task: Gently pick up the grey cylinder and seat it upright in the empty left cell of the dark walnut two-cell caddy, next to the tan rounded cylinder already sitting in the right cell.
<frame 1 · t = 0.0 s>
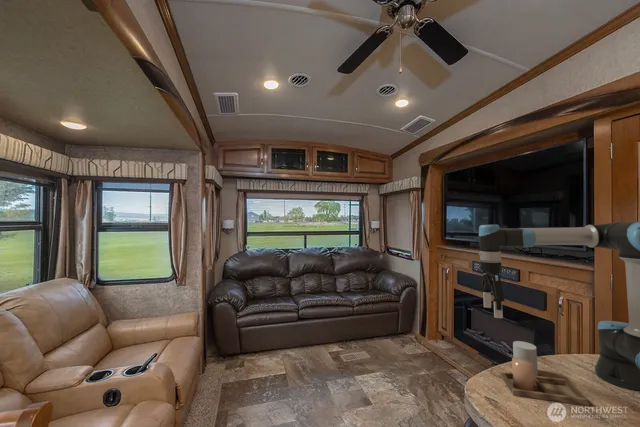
hand: (492, 312, 112), 28 cm above the table, fingers open, 13 cm apart
tan rounded cylinder: (524, 387, 105), point 1 cm above the table, touching caddy
grey cylinder: (525, 373, 116), on the table
caddy: (540, 391, 103), on the table
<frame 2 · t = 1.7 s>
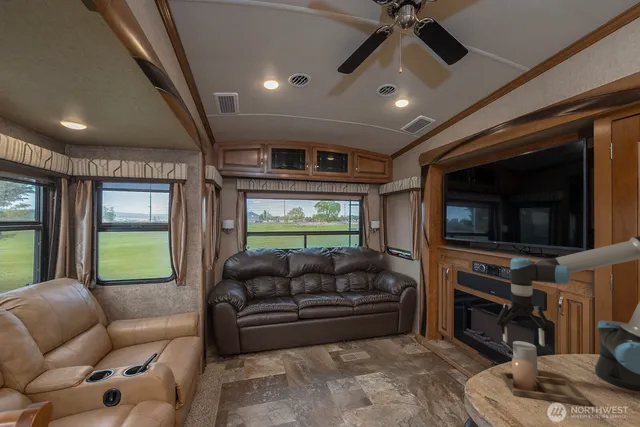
hand: (523, 343, 116), 13 cm above the table, fingers open, 13 cm apart
nothing on the table moved.
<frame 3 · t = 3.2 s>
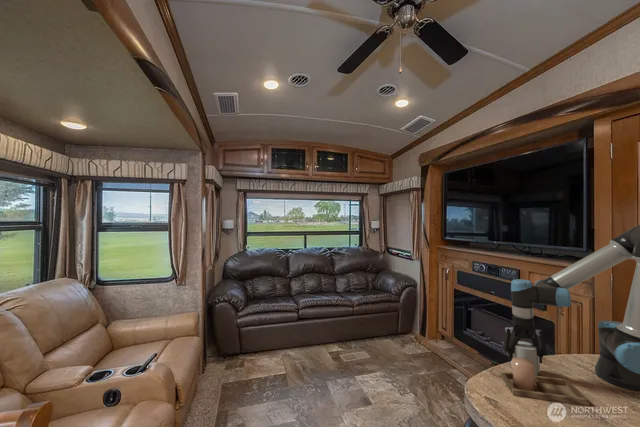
hand: (525, 369, 116), 2 cm above the table, fingers closed on grey cylinder, 8 cm apart
grey cylinder: (525, 373, 116), on the table, touching gripper
everything else where it was.
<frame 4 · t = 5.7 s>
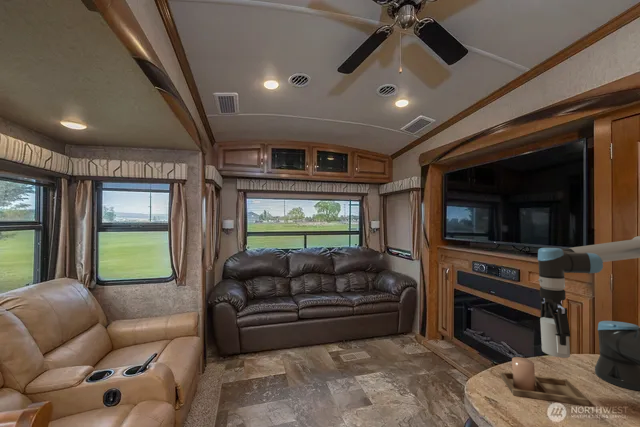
hand: (555, 347, 103), 17 cm above the table, fingers closed on grey cylinder, 8 cm apart
grey cylinder: (555, 353, 103), point 15 cm above the table, touching gripper
everything else where it was.
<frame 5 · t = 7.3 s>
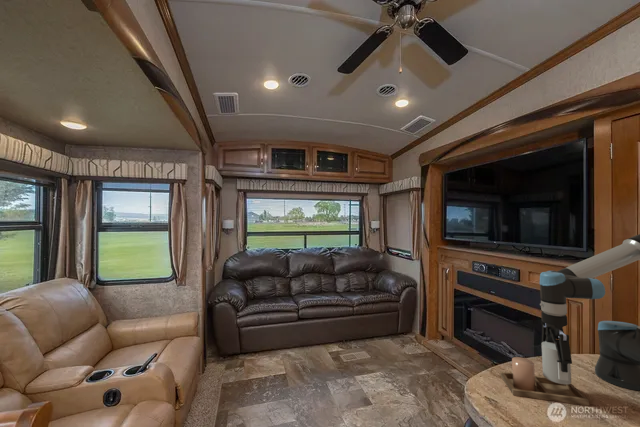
hand: (556, 373, 102), 8 cm above the table, fingers closed on grey cylinder, 8 cm apart
grey cylinder: (556, 378, 102), point 6 cm above the table, touching gripper
everything else where it was.
when the fingers open (5 cm above the table, at t = 8.4 s): grey cylinder drops 2 cm, resting on caddy.
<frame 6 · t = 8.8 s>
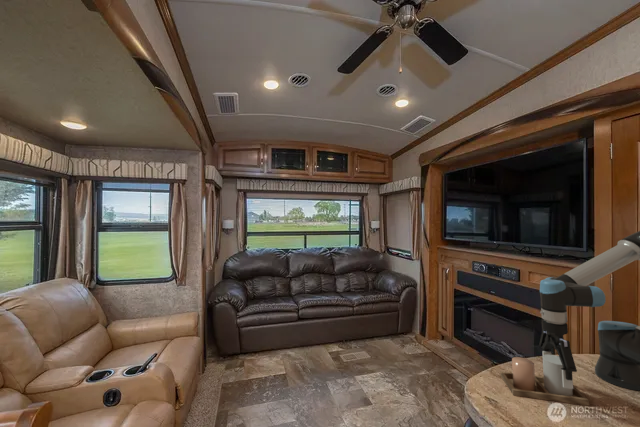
hand: (557, 377, 102), 6 cm above the table, fingers open, 13 cm apart
grey cylinder: (558, 392, 102), resting on caddy
everything else where it was.
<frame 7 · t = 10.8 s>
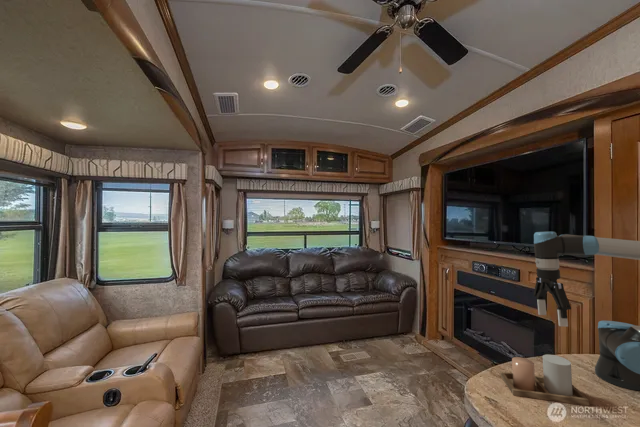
hand: (552, 320, 111), 25 cm above the table, fingers open, 13 cm apart
nothing on the table moved.
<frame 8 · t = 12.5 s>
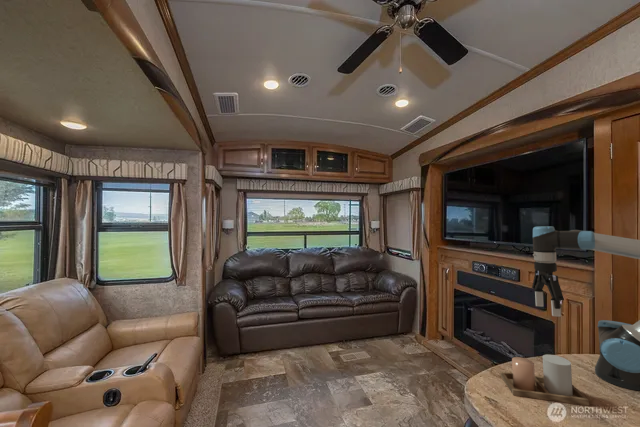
hand: (547, 311, 116), 27 cm above the table, fingers open, 13 cm apart
nothing on the table moved.
at the end: grey cylinder inside the target area on the caddy (0.2 cm from its centre), point 0.4 cm above the caddy's base; grey cylinder tilted 0°; tan rounded cylinder moved 0.1 cm from its start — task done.
